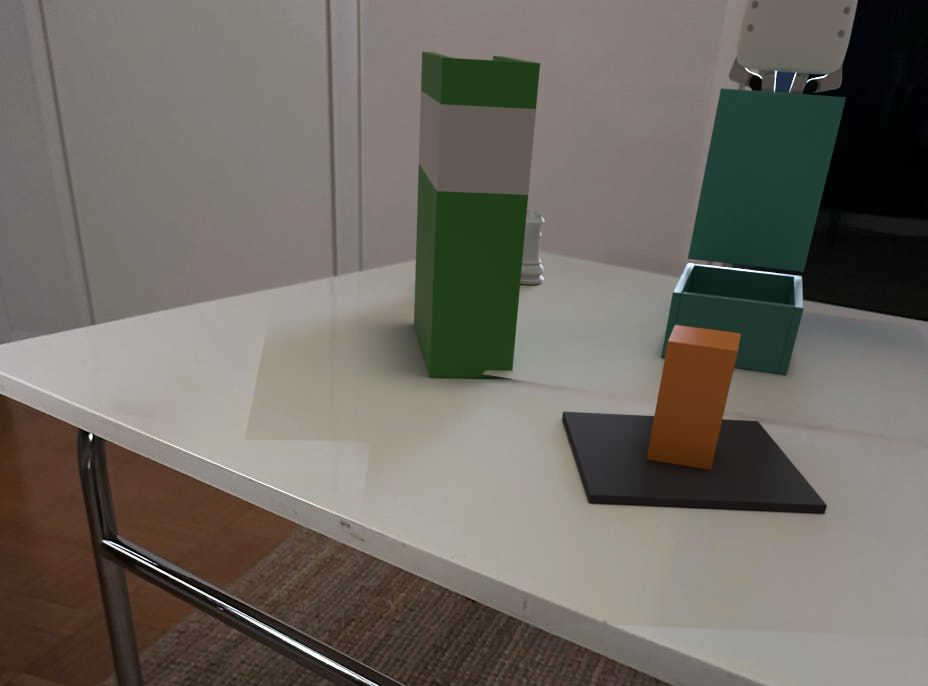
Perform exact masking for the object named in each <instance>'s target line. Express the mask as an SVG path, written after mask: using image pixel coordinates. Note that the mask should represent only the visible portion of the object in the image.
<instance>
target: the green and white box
mask: <svg viewBox="0 0 928 686" xmlns="http://www.w3.org/2000/svg"><path fill="white" fill-rule="evenodd" d="M540 70H541V63H540V62H536V61H529V60H524V59H519V58H514V57H509V56H502V55H493V56H492V59H478V58H477V59H475V58H460V57H452V56H447V55H445V54H441V53H437V52H433V51H421V73H420V75H421V78H420V105H419V106H420V107H419V108H420V109H419V110H420V111H419V116H420V117H419V139H418V140H419V141H418V174H417V175H418V177H417V178H418V179H417V204H416V205H417V210H416V212H417V213H416V239H415V240H416V245H415V272H414V273H415V275H414V277H415V278H414V307H413V308H414V309H413V325H414V329H415V332H416V336H417V340H418V344H419V346H420V350H421V353H422V356H423V360H424V363H426V364H425V367H426V371H427V370H428V371H427V374H428V376H429V377H431V378H433V379H434V378H435V377H437V378H439V379H490V380H491V379H492V378H493V379H497V380H499V379H500V380H512V378H510V377H505V376H497V375H489V374H485V372H486V371H512V372H513V369H514V358H515V348H516V347H515V346H516V337H517V336H516V335H517V334H516V333H517V325H518V315H519V314H518V313H519V303H520V290H521V284H520V281H521V270H522V259H523V248H524V237H525V226H526V215H527V210H528V204H529V203H528V202H529V193H530V181H531V170H532V161H533V160H532V159H533V150H534V149H533V148H534V139H535V138H534V136H535V126H536V125H535V124H536V114H537V104H538V94H539V93H538V92H539V84H540V83H539V81H540ZM435 379H436V378H435ZM493 379H492V380H493Z"/></svg>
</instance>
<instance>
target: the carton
mask: <svg viewBox="0 0 928 686" xmlns="http://www.w3.org/2000/svg"><path fill="white" fill-rule="evenodd" d="M740 336H741V334H740V333H733V332H726V331H718V330H710V329H703V328H695V327H687V326H680V325H675V326H674V328H673V331H672V333H671V336H670V338H669V340H668V344H667V350H666V355H665V359H664V361H663V367H662V372H661V378H660V382H659V388H658V394H657V400H656V404H655V410H654V415H653V416H654V421H653V426H652V432H651V437H650V443H649V448H648V453H647V460H652V461H658V462H665V463H671V464H677V465H683V466H689V467H695V468H701V469H707V470H711V468H712V463H713V459H714V454H715V450H716V445H717V441H718V437H719V432H720V428H721V423H722V419H724V414H725V409H726V404H727V400H728V396H729V392H730V387H731V383H732V378H733V374H734V370H735V368H734V366H735V361H736V357H737V352H738V347H739V341H740Z"/></svg>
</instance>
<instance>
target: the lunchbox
mask: <svg viewBox="0 0 928 686" xmlns="http://www.w3.org/2000/svg"><path fill="white" fill-rule="evenodd" d="M669 306H670V307H669V311H668V317H667V322H666V329H665V333H664V340H663V344H662V351H661V357H660V359H664V360H665V355H666V350H667V344H668V340H669V338H670V336H671V333H672V331H673V328H674V326H675V325H680V326H687V327H695V328H703V329H710V330H718V331H726V332H733V333H740V334H741V336H740V341H739V347H738V352H737V357H736V361H735V366H734V369H735V370H736V369H738V370H743V371H744V370H745V371H752V372H759V373H766V374H772V375H779V376H780V375H781V376H787V375H788V371H789V367H790V364H791V360H792V357H793V352H794V348H795V345H796V340H797V337H798V334H799V333H798V332H799V328H800V325H801V321H802V317H803V313H804V308H805V306H804V289H803V276H802V275H793V274H787V273H786V274H785V273H776V272H770V271H769V272H768V271H760V270H751V269H742V268H733V267H725V266H717V265H707V264H700V263H699V264H698V263H691V262H687V263H686V265H685V267H684V268H683V271H682V273H681V275H680V277H679V279H678V281H677V283H676V285H675V287H674V290H673V291H672V295H671V301H670V305H669Z"/></svg>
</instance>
